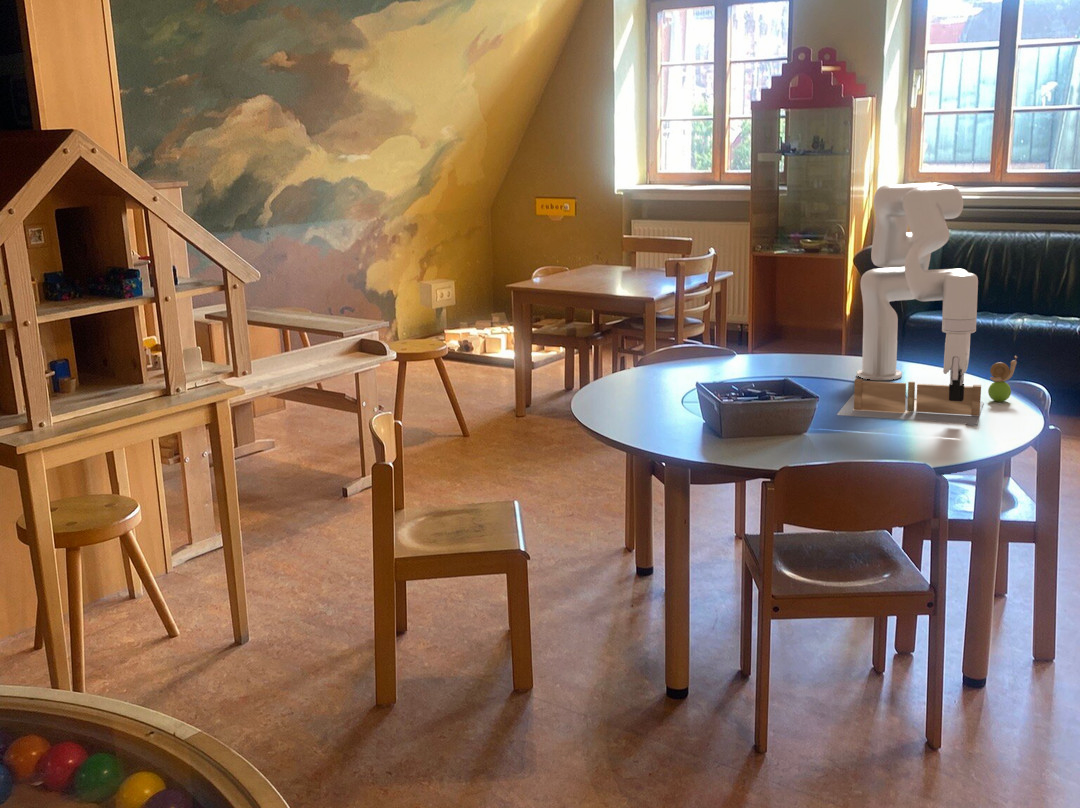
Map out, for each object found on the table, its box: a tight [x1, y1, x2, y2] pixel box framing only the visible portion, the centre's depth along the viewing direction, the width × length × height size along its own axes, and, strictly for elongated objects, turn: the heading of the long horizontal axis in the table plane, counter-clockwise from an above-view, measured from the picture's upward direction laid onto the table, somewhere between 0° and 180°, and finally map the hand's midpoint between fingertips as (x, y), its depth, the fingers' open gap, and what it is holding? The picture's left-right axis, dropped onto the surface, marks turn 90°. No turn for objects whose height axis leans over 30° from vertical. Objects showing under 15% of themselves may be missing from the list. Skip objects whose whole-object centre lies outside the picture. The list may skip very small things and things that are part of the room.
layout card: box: [836, 394, 984, 426], centre depth 264 cm, size 22×33×1 cm, turn 63°
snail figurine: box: [987, 355, 1018, 403], centre depth 266 cm, size 5×6×12 cm
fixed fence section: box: [853, 378, 907, 412], centre depth 263 cm, size 2×12×8 cm, turn 63°
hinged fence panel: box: [907, 381, 982, 417], centre depth 256 cm, size 2×17×7 cm, turn 63°
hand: (956, 400), depth 248 cm, fingers closed
